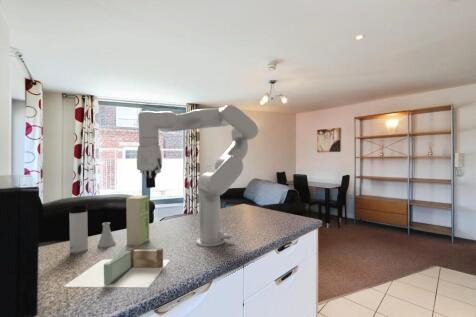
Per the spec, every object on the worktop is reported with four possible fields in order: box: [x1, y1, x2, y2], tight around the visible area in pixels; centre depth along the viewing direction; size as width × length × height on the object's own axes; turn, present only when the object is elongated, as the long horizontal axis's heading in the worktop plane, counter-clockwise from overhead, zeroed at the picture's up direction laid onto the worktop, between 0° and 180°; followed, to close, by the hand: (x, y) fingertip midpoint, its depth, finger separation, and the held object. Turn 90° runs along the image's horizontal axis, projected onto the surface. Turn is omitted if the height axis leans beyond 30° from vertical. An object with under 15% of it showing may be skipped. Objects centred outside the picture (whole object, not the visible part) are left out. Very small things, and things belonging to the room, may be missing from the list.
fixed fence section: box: [127, 247, 164, 268], centre depth 87 cm, size 12×2×6 cm, turn 87°
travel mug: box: [68, 204, 89, 256], centre depth 103 cm, size 6×7×20 cm
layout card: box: [63, 258, 171, 288], centre depth 84 cm, size 26×20×1 cm
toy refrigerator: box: [125, 194, 150, 246], centre depth 114 cm, size 8×7×21 cm
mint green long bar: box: [104, 250, 131, 284], centre depth 81 cm, size 12×2×6 cm, turn 172°
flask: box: [97, 221, 116, 249], centre depth 111 cm, size 7×7×10 cm
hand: (150, 187), depth 101 cm, fingers closed
